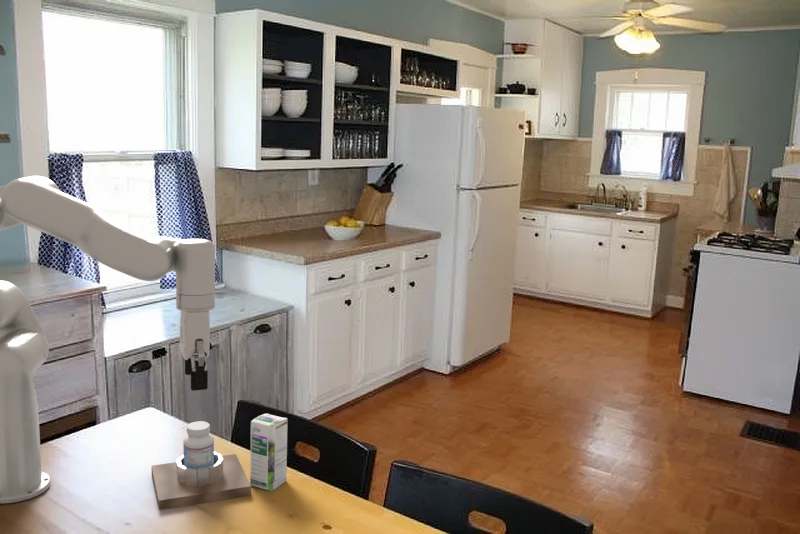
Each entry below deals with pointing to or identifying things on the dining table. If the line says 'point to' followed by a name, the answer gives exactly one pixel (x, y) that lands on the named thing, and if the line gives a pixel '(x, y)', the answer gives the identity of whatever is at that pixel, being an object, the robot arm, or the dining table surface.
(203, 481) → the bottle ring
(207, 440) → the pill bottle
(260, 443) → the syrup box
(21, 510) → the dining table surface
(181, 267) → the robot arm
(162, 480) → the holder board
